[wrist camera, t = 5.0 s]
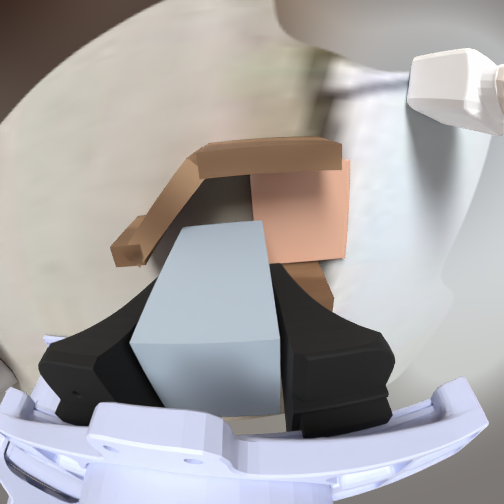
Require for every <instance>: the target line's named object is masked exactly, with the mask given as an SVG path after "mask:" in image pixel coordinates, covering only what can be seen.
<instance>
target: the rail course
mask: <svg viewBox="0 0 504 504" xmlns="http://www.w3.org/2000/svg"><path fill="white" fill-rule="evenodd" d="M325 170H342V144H340V143H337V142H334V141H330V140H327V139H324V138H320V137H317V136H307V137H276V138H259V139H246V140H234V141H224V142H215V143H209V144H207V145H206V146H204V147H202V148H200V149H199V150H197V151H196V152H194V153H193V154H192V155H190V156H189V157H188V158H186V160H185V161H184V162H183V164H182V165H181V166H180V168H179V169H178V170H177V172H176V173H175V174H174V176H173V177H172V179H171V180H170V181H169V183H168V184H167V185H166V187H165V188H164V190H163V191H162V193H161V194H160V195H159V197H158V198H157V200H156V201H155V203H154V204H153V206H152V207H151V209H150V210H149V212H148V213H147V215H144V216H138V217H137V218H136V219H135V220H134V221H133V222H132V223H131V224H130V225H129V226H128V228H127V229H126V230H125V231H124V232H123V233H122V234H121V235H120V236H119V237H118V239H117V240H116V241H115V242H114V243H113V244H112V245H111V247H110V249H111V252H112V255H113V259H114V262H115V265H116V267H126V266H138V267H141V265H146V264H147V262H148V260H149V258H150V257H151V255H152V253H153V252H154V250H155V248H156V247H157V245H158V243H159V242H160V240H161V238H162V237H163V235H164V234H165V232H166V229H167V228H168V227H169V225H170V224H171V222H172V221H173V220H174V218H175V217H176V216H177V214H178V213H179V212H180V210H181V209H182V208H183V206H184V205H185V204H186V202H187V201H188V200H189V199H190V197H191V196H192V195H193V193H194V192H195V191H196V190H197V188H198V187H199V186H200V184H201V183H202V182H203V181H204V179H207V178H217V177H226V176H237V175H249V174H262V173H277V172H296V171H325ZM281 264H282V265H283V266H284V268H285V269H286V271H287V272H288V273H289V274H290V276H291V277H292V278H293V279H294V280H295V281H296V282H297V283H298V285H299V286H300V287H301V288H302V289H303V290H304V291H305V292H306V293H308V294H309V295H310V296H311V297H312V298H313V299H314V300H316V301H317V302H318V303H320V304H321V305H322V306H324V307H325V308H327V309H328V310H330V311H331V312H332V310H333V302H334V297H333V294H332V292H331V290H330V287H329V285H328V283H327V281H326V278H325V276H324V274H323V272H322V270H321V267H320V265H319V263H318V261H317V260H316V261H304V262H292V263H281Z"/></svg>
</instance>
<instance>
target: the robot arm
mask: <svg viewBox="0 0 504 504" xmlns="http://www.w3.org/2000/svg"><path fill="white" fill-rule="evenodd" d="M269 268H270V274H271V281H272V288H273V294H274V301H275V308H276V315H277V322H278V329H279V336H280V369H281V378H282V388H283V398H284V408H285V419H286V431H287V432H283V433H271V434H256V435H233V432H232V429H231V427H230V426H229V425H228V424H227V423H226V422H225V421H224V420H223V419H222V418H221V417H218V416H215V415H213V414H210V413H208V412H204V411H197V410H190V409H177V408H165V406H164V404H163V403H162V401H161V400H160V398H159V396H158V395H157V393H156V391H155V390H154V388H153V386H152V384H151V383H150V381H149V379H148V377H147V376H146V374H145V372H144V370H143V368H142V366H141V364H140V363H139V361H138V359H137V357H136V355H135V353H134V351H133V349H132V347H131V345H130V340H131V338H132V336H133V333H134V331H135V328H136V326H137V324H138V321H139V319H140V317H141V314H142V312H143V310H144V307H145V305H146V303H147V301H148V298H149V296H150V294H151V292H152V290H153V287H154V285H155V283H156V281H157V279H158V277H159V276H158V277H157V278H156V279H155V280H154V281H153V282H152V283H150V284H149V285H148V286H147V287H146V288H145V289H144V290H143V291H142V292H140V293H139V294H138V295H137V296H136V297H135V298H133V299H132V300H131V301H130V302H128V303H127V304H126V305H125V306H123V307H122V308H121V309H119V310H118V311H117V312H115V313H114V314H112V315H111V316H109V317H108V318H106V319H104V320H103V321H101V322H99V323H97V324H96V325H94V326H92V327H90V328H88V329H86V330H84V331H82V332H80V333H77V334H75V335H73V336H70V337H68V338H66V337H56V336H48V335H45V336H44V337H43V339H44V341H45V343H46V344H47V346H48V348H47V350H46V352H45V353H44V355H43V357H42V359H41V361H40V362H39V364H38V367H39V371H40V374H41V376H40V378H39V380H38V382H37V383H36V385H35V387H34V389H33V391H32V393H31V395H30V396H29V395H27V394H26V393H25V392H23V391H20V390H18V389H15V388H12V387H9V389H8V391H7V393H6V395H5V397H4V399H3V401H2V403H1V405H0V482H1V484H2V486H3V487H4V489H5V490H6V491H7V493H8V495H9V499H8V503H7V504H333V501H335V500H339V499H343V498H347V497H351V496H354V495H358V494H361V493H364V492H367V491H370V490H373V489H376V488H379V487H382V486H385V485H387V484H390V483H392V482H395V481H398V480H400V479H402V478H405V477H407V476H410V475H412V474H414V473H416V472H419V471H421V470H423V469H425V468H427V467H429V466H431V465H433V464H436V463H438V462H440V461H442V460H444V459H445V458H448V457H450V456H452V455H453V454H455V453H457V452H458V451H459V450H461V449H462V448H463V447H464V446H466V445H467V444H468V443H469V442H470V441H471V440H472V439H474V438H475V437H476V436H477V435H478V434H479V433H480V432H481V431H482V430H483V429H485V428H486V426H488V424H489V422H488V420H487V418H486V416H485V414H484V412H483V410H482V408H481V406H480V404H479V402H478V400H477V399H476V396H475V394H474V393H473V391H472V389H471V387H470V386H469V384H468V382H467V380H466V378H465V377H464V376H462V377H459V378H457V379H455V380H452V381H450V382H447V383H445V384H443V385H441V386H440V387H438V388H437V389H436V390H435V392H434V393H433V395H432V397H431V398H430V399H428V400H425V401H422V402H420V403H416V404H414V405H411V406H408V407H404V408H401V409H398V410H395V411H391V408H390V406H389V403H388V400H387V398H386V397H388V395H389V394H388V390H387V388H386V383H387V381H388V379H389V377H390V375H391V373H392V370H393V368H394V364H395V357H394V354H393V352H392V350H391V348H390V346H389V345H388V343H387V341H386V340H385V339H384V337H383V336H382V334H381V333H380V332H377V331H374V330H371V329H368V328H365V327H362V326H359V325H357V324H355V323H353V322H350V321H348V320H346V319H344V318H342V317H340V316H338V315H337V314H335V313H333V312H331V311H330V310H328V309H327V308H325V307H324V306H322V305H321V304H320V303H318V302H317V301H316V300H314V299H313V298H312V297H311V296H310V295H309V294H308V293H306V292H305V291H304V290H303V289H302V288H301V287H300V286H299V285H298V283H297V282H296V281H295V280H294V279H293V278H292V277H291V276H290V274H289V273H288V272H287V271H286V269H285V268H284V266H283V265H282V264H281V263H272V264H269ZM10 463H11V464H12V465H14V466H15V467H17V468H18V469H20V470H22V471H23V472H25V473H26V474H28V475H29V476H31V477H33V478H35V479H37V480H38V481H40V482H42V483H44V484H45V485H47V486H49V487H51V488H53V489H55V490H57V491H59V492H61V493H59V492H56V491H54V490H52V489H50V488H48V487H46V486H44V485H42V484H40V483H39V482H37V481H35V480H33V479H32V478H30V477H28V476H27V475H25V474H23V473H22V472H20V471H19V470H17V469H15V468H14V467H13V466H12V465H11V464H10Z"/></svg>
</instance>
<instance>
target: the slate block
mask: <svg viewBox="0 0 504 504" xmlns="http://www.w3.org/2000/svg"><path fill="white" fill-rule="evenodd" d="M130 345H131V347H132V349H133V351H134V353H135V355H136V357H137V359H138V361H139V363H140V364H141V366H142V368H143V370H144V372H145V374H146V376H147V377H148V379H149V381H150V383H151V384H152V386H153V388H154V390H155V391H156V393H157V395H158V396H159V398H160V400H161V401H162V403H163V404H164V406H165V408H177V409H190V410H197V411H204V412H208V413H210V414H213V415H215V416H218V417H237V416H259V415H273V414H280V336H279V329H278V322H277V315H276V308H275V301H274V294H273V288H272V281H271V274H270V268H269V261H268V255H267V248H266V242H265V236H264V229H263V223H262V220H257V221H244V222H232V223H221V224H210V225H199V226H189V227H183V228H182V230H181V232H180V234H179V236H178V238H177V240H176V242H175V244H174V246H173V248H172V250H171V252H170V254H169V256H168V258H167V260H166V262H165V264H164V266H163V268H162V270H161V272H160V274H159V277H158V279H157V281H156V283H155V285H154V287H153V290H152V292H151V294H150V296H149V298H148V301H147V303H146V305H145V307H144V310H143V312H142V314H141V317H140V319H139V321H138V324H137V326H136V328H135V331H134V333H133V336H132V338H131V340H130Z"/></svg>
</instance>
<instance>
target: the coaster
mask: <svg viewBox="0 0 504 504" xmlns="http://www.w3.org/2000/svg"><path fill="white" fill-rule="evenodd" d="M250 182H251V195H252V207H253V219H254V221H257V220H262V223H263V229H264V236H265V242H266V248H267V255H268V261H269V264H272V263H292V262H304V261H316V260H327V259H338V258H345V254H346V242H347V229H348V213H349V190H350V160H348V159H342V170H325V171H296V172H277V173H262V174H250Z"/></svg>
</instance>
